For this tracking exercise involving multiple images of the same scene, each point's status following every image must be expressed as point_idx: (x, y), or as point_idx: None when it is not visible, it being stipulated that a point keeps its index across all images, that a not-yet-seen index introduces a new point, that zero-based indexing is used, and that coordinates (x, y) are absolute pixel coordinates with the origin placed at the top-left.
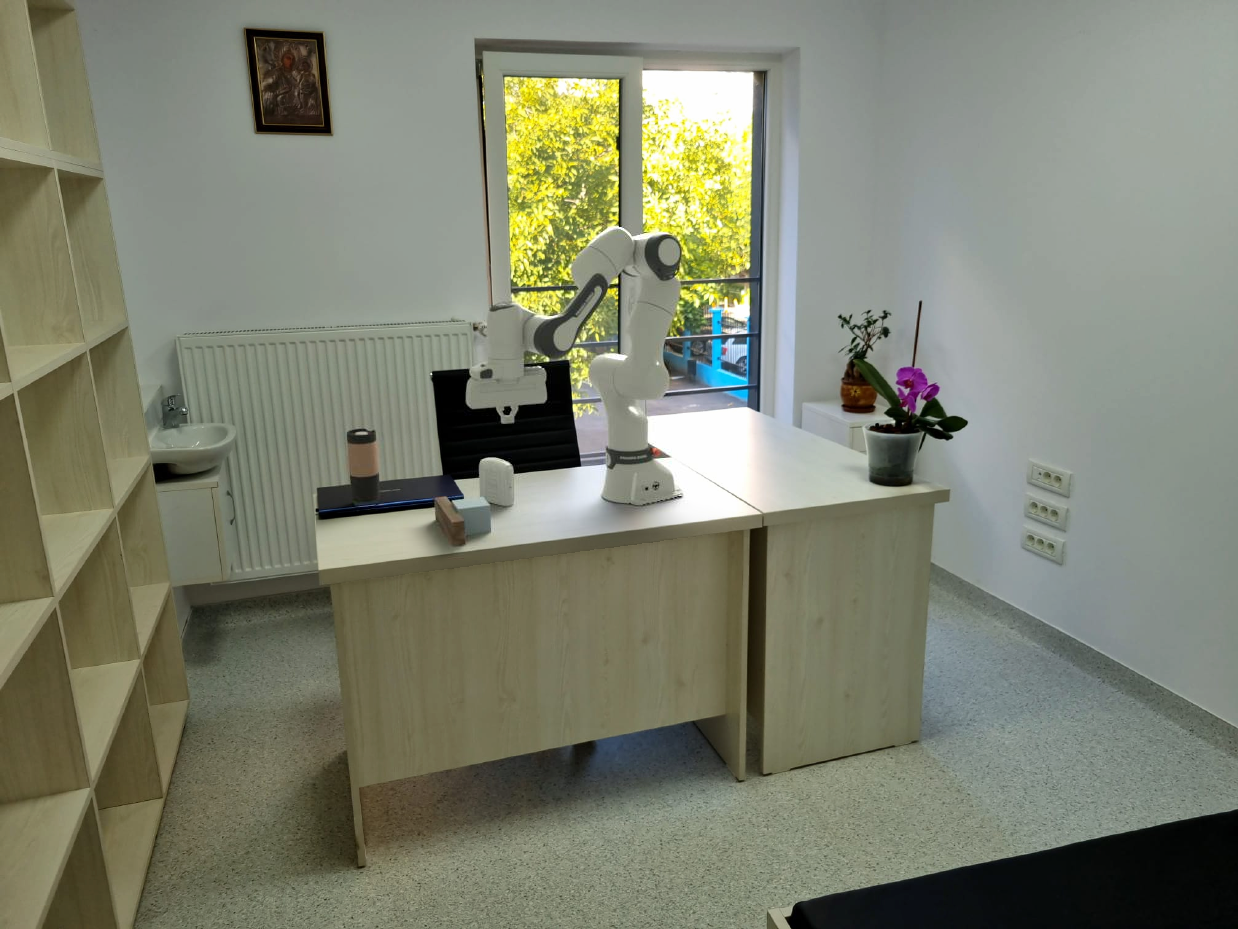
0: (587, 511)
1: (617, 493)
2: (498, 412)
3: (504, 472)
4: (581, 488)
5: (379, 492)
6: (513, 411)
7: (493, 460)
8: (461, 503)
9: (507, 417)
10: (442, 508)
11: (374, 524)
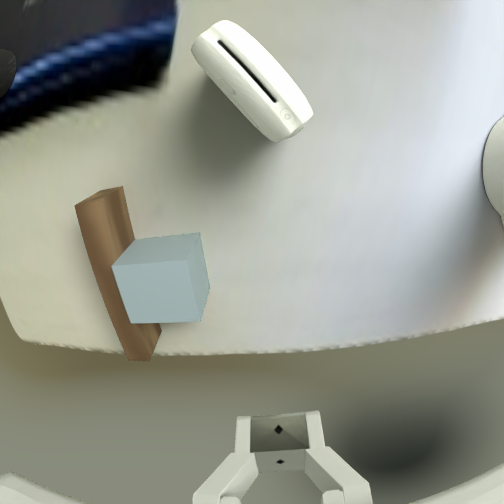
0: (430, 227)
1: (502, 202)
2: (212, 474)
3: (273, 141)
4: (465, 75)
5: (1, 71)
6: (324, 491)
7: (238, 86)
8: (134, 292)
9: (274, 467)
10: (99, 285)
11: (13, 192)
